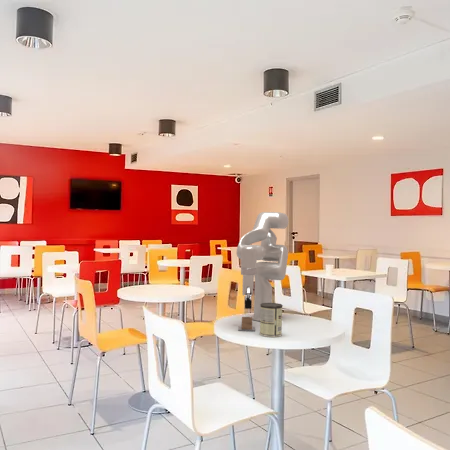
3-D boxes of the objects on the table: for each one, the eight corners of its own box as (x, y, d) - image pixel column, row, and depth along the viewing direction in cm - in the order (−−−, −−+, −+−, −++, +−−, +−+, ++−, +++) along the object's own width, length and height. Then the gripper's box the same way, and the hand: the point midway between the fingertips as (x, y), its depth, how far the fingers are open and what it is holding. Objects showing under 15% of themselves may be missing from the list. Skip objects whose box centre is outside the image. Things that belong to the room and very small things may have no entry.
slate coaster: (238, 327, 222) (238, 326, 222) (254, 328, 222) (254, 326, 222) (238, 330, 214) (238, 329, 214) (255, 331, 214) (255, 330, 214)
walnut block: (241, 326, 220) (242, 316, 220) (251, 327, 220) (252, 317, 220) (241, 329, 215) (241, 318, 216) (251, 329, 215) (252, 319, 215)
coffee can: (261, 331, 214) (262, 302, 214) (282, 333, 212) (283, 303, 212) (257, 336, 204) (258, 305, 204) (280, 338, 202) (281, 306, 202)
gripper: (241, 269, 227) (240, 302, 228) (240, 273, 210) (240, 310, 211) (255, 269, 227) (255, 303, 228) (256, 274, 210) (256, 310, 210)
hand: (248, 306), depth 219 cm, fingers open, 9 cm apart
